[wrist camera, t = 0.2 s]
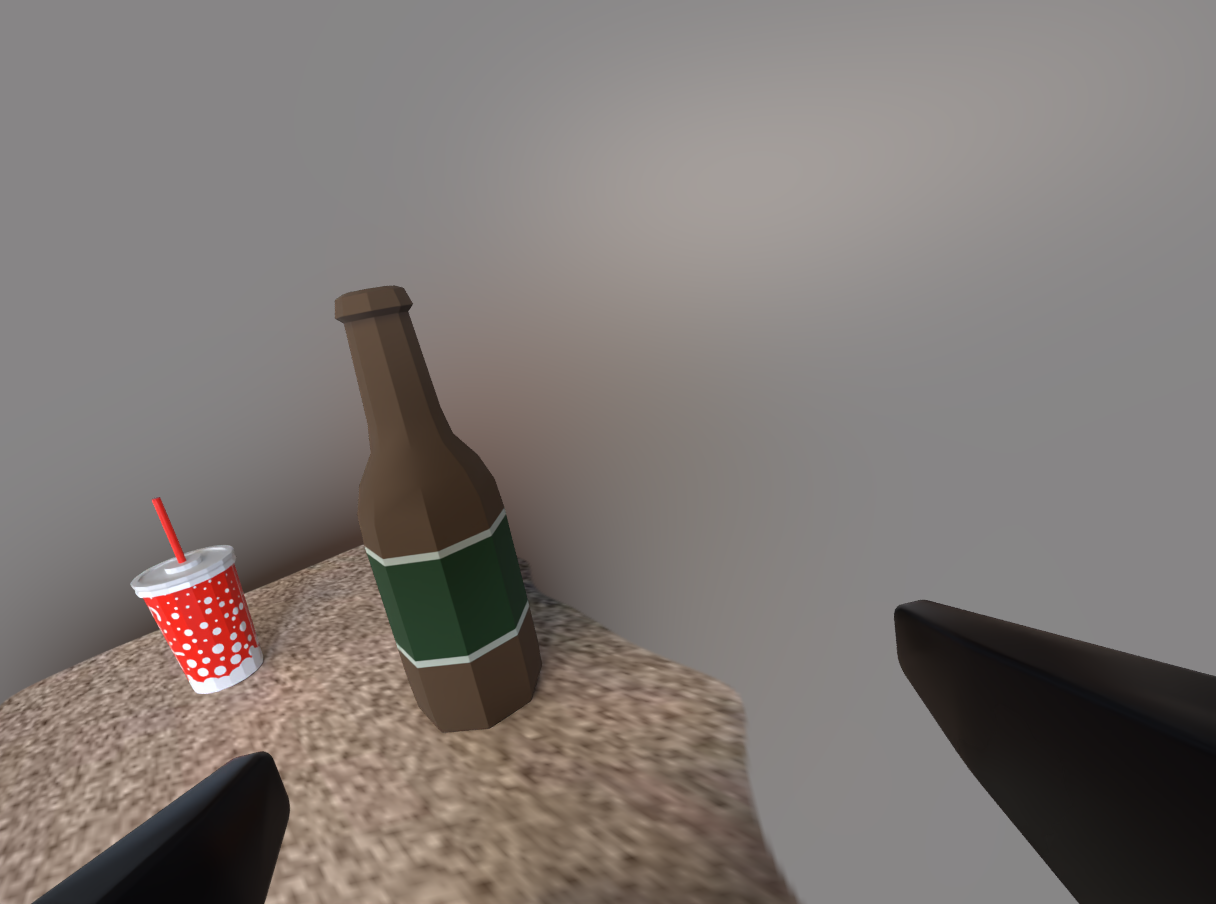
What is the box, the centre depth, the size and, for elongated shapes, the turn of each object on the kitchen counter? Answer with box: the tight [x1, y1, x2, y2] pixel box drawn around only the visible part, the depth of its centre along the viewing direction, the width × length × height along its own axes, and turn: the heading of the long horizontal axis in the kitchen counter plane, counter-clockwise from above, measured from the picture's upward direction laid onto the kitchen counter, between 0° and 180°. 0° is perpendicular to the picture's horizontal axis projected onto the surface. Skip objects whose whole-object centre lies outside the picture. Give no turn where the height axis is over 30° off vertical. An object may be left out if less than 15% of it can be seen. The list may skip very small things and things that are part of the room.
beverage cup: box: [131, 497, 263, 694], centre depth 42 cm, size 6×6×14 cm
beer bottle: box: [335, 286, 542, 732], centre depth 33 cm, size 8×8×24 cm
